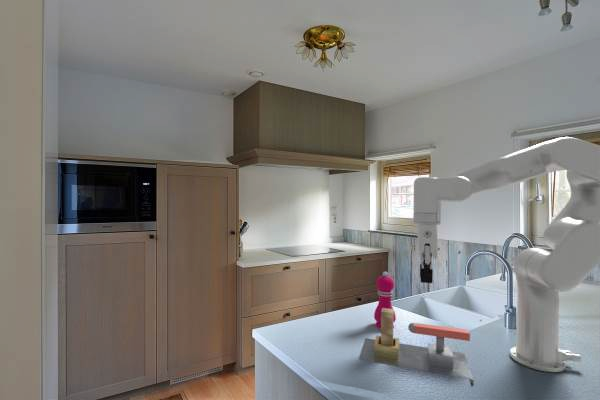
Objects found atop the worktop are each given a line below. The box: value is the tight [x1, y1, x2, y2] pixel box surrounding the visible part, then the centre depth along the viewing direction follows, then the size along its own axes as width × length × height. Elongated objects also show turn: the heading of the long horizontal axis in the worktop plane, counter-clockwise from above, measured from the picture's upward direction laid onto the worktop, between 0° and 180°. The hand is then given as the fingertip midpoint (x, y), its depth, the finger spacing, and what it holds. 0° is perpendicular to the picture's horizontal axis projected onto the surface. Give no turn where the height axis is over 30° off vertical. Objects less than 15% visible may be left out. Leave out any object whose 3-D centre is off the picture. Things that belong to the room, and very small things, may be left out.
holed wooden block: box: [374, 334, 400, 360], centre depth 91 cm, size 7×7×3 cm
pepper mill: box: [373, 271, 397, 330], centre depth 110 cm, size 7×7×20 cm
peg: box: [380, 308, 395, 346], centre depth 91 cm, size 3×3×12 cm
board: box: [358, 337, 475, 385], centre depth 89 cm, size 28×14×4 cm, turn 71°
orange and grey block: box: [408, 322, 471, 352], centre depth 87 cm, size 15×3×6 cm, turn 71°
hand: (425, 279), depth 94 cm, fingers open, 5 cm apart
